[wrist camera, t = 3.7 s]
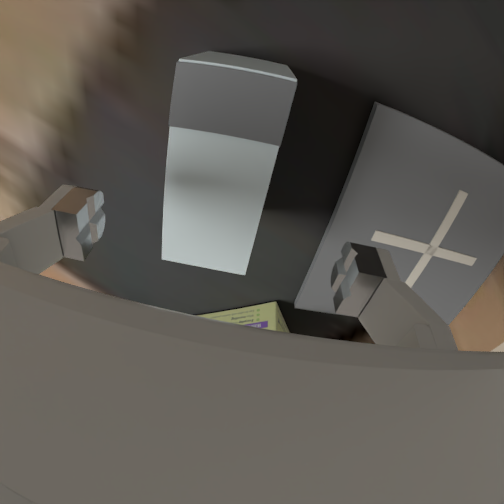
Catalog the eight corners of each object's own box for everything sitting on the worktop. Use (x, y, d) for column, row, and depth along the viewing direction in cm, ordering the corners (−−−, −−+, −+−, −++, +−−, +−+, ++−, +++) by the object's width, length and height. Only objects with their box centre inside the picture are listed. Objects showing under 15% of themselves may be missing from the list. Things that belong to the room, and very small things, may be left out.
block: (187, 196, 19) (160, 261, 14) (209, 50, 13) (177, 58, 9) (251, 208, 19) (245, 277, 15) (287, 65, 14) (298, 80, 9)
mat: (294, 302, 24) (294, 308, 24) (374, 101, 14) (378, 104, 14) (444, 322, 26) (446, 327, 25) (536, 187, 16) (541, 191, 15)
